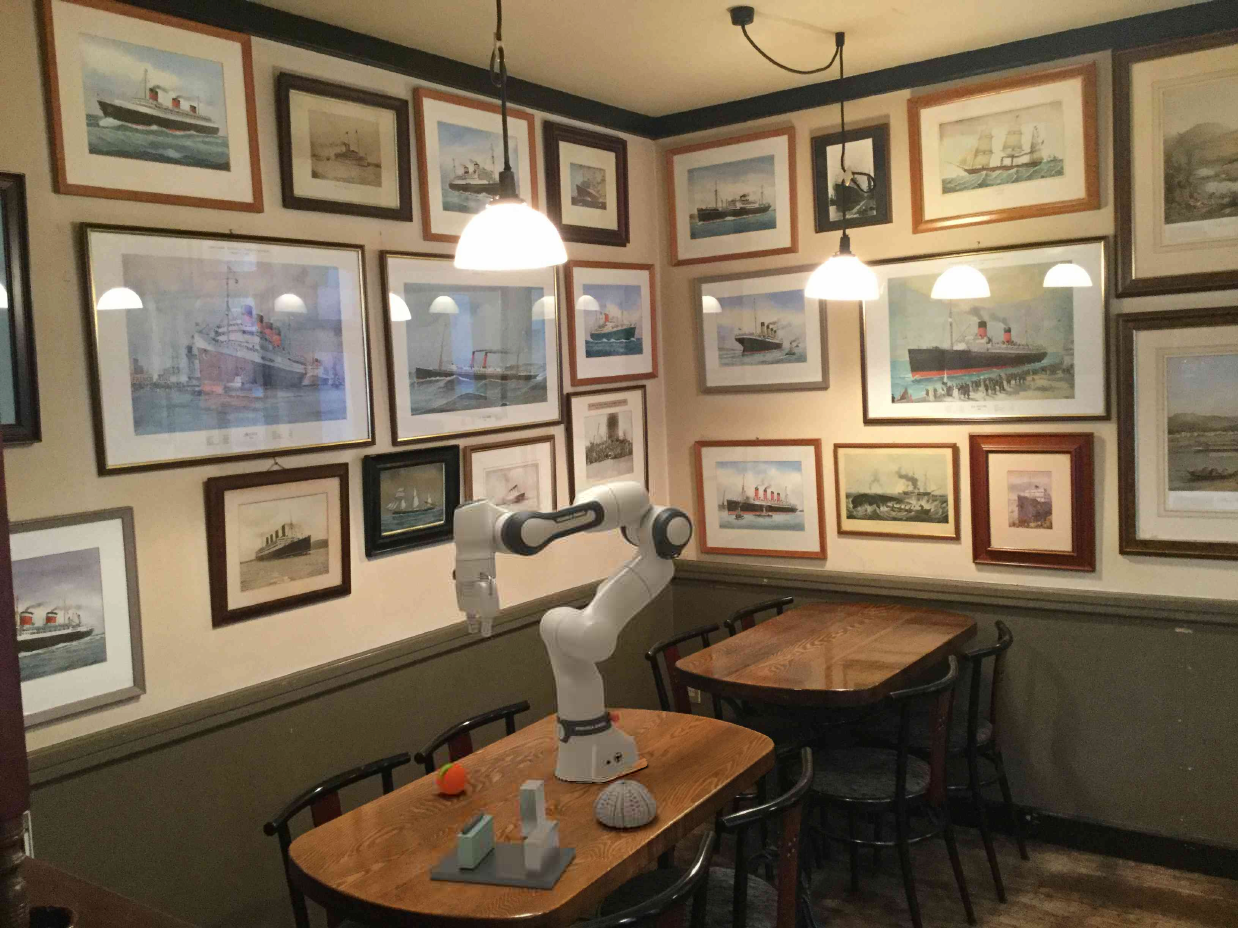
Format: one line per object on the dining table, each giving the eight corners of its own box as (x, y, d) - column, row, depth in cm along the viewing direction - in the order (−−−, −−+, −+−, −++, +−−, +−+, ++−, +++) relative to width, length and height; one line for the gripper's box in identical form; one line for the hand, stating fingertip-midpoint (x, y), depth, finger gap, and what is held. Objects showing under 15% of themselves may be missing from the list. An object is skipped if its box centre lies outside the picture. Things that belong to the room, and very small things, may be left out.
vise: (430, 878, 188) (427, 839, 188) (462, 846, 201) (459, 810, 201) (550, 889, 181) (548, 848, 181) (575, 855, 195) (573, 817, 194)
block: (521, 836, 205) (518, 788, 204) (530, 826, 209) (527, 779, 209) (537, 837, 204) (534, 789, 203) (546, 827, 209) (543, 780, 208)
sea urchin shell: (617, 803, 220) (615, 767, 219) (670, 813, 212) (668, 776, 212) (582, 825, 209) (579, 788, 208) (636, 838, 201) (634, 798, 201)
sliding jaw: (458, 867, 188) (456, 829, 188) (480, 844, 198) (478, 808, 198) (473, 868, 188) (471, 830, 187) (494, 845, 197) (492, 809, 197)
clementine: (451, 802, 225) (449, 771, 225) (428, 797, 229) (426, 767, 228) (474, 790, 232) (472, 760, 231) (452, 785, 235) (450, 756, 235)
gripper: (504, 572, 216) (508, 636, 215) (476, 569, 234) (480, 628, 234) (476, 575, 213) (480, 640, 212) (449, 572, 231) (453, 632, 231)
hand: (480, 634), depth 223 cm, fingers open, 8 cm apart
